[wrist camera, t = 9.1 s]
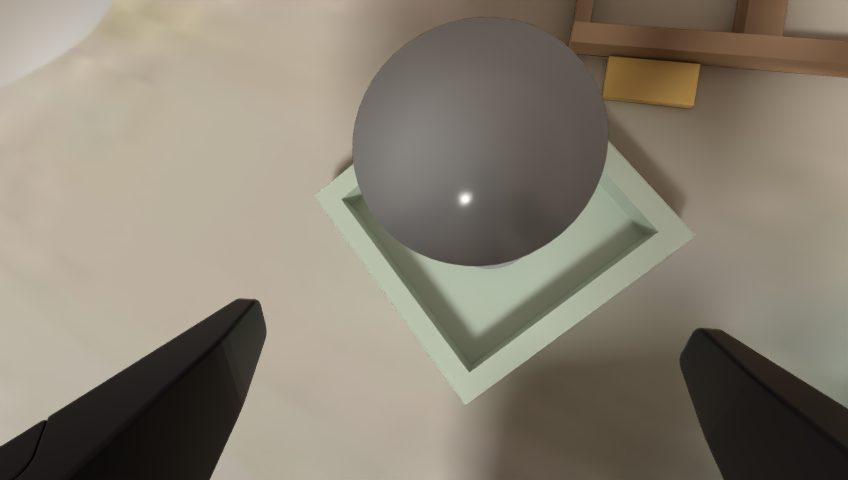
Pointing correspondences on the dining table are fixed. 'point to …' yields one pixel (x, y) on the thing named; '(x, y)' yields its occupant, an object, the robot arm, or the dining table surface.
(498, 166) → the ball
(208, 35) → the dining table surface
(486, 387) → the tray
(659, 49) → the wooden fuse rack
